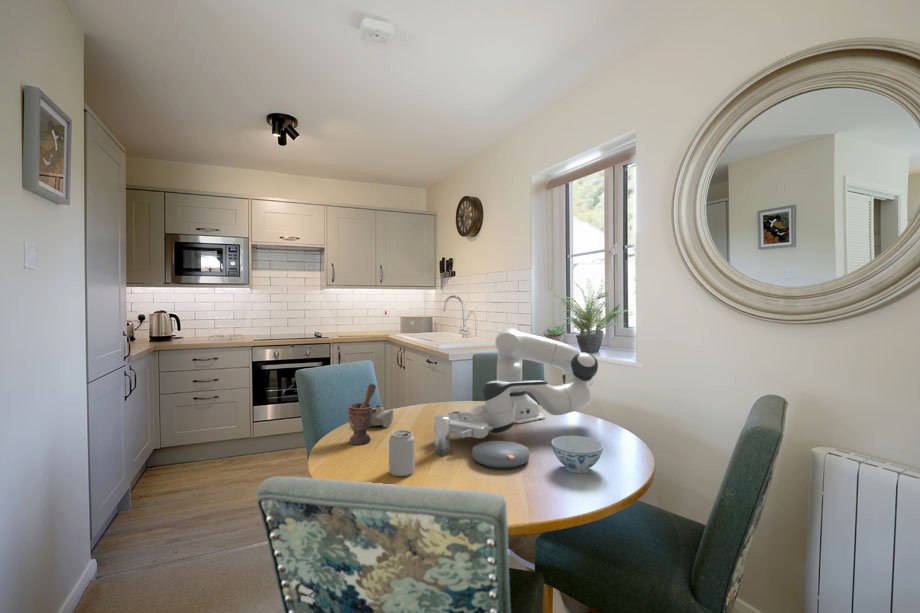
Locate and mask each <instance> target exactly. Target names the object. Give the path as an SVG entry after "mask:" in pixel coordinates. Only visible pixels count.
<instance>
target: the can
mask: <svg viewBox="0 0 920 613" xmlns="http://www.w3.org/2000/svg"><path fill="white" fill-rule="evenodd" d="M415 456H416V455H415V436H414V435H413V431H410V430H406V429H399V430H395V431H392V432H391V433H390V436H389V439H388V472H389V473H390V474H391V475H392V476H393V475H394V476H393V477H396V476H402V477H401V478H403V476H405V477H408V476H410V475H412V473H413V472H414V471H415V458H416V457H415Z"/></svg>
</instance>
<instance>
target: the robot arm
mask: <svg viewBox="0 0 920 613" xmlns="http://www.w3.org/2000/svg"><path fill="white" fill-rule="evenodd" d="M495 347H496V349H497V359H496V360H497V361H496V380H490V381H488V382H486V383H485V384H484V385H483V387H482V389H481V391H480V392H481V396H482V398H483V402H484V404H480V405H477V406H475V407H473V408H471V409H468V410H463V411H449V412H448V414H445V415H444V416H449V417H450V434H453V435H458V438H460V439H464V438H470V437H471V438H474V439H475V438H476V439H485V437H487V436H488V434H489V433H491V434H498V433H503V432H507V431H508V430H510V429H511V428H512V427H513V426H514V425H515V424H524V423H528V422H529V423H530V422H534V420H535V421H539V419H541V420H544V418H545V417H546V416H545V415H544V414H543V413H542V412H541V411H540V408H539V406H540V407H541V408H542V409H543V410H544V411H545V412H546V413H547V414H549V415H551V416H562V415H567V414H569V413H573V412H575V411H579V410H580V409H583V408H585V407H587V406H588V404H589V403H590V401H591V392H590V389H591V388H592V386H593V383H594V382H595V378H596V375H597V374H598V368H599V362H598V359H597V358H596V357H595V356H594V355H593V354H591V353H589V352H585V351H582V352H581V351H579V350H578V349H577V347H575V346H572V345H570V344H567V343H564V342H562V341H558V340H555V339H552V338H548V337H544V336H541V335H540V336H539V335H534V334H529V333H525V332H520V330H518V329H517V328H514V327H506V328H504V329H503V330H502V331H500V332H499V333H498V334H497V335H496V338H495ZM523 360H526V361H531V362H534V363H539V364H542V365H547V366H550V367H553V368H557V369H560V370H561V371H563V373H564V374H563V375H562V381H563V384H559V385H552V384H549V383H548V382H547V381H546V380H543V379H540V380H539V379H534V380H531V379H528V380H523ZM526 392H527V393H531V394H532V395H533V396H534V397H535V399H536V401H535V399H533V398H532V397H531V396H529V395H528V394H527V393H526ZM537 402H538V403H537ZM433 423H434V424H433V426H434V429H435V420H434V422H433Z"/></svg>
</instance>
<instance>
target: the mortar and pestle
mask: <svg viewBox="0 0 920 613" xmlns="http://www.w3.org/2000/svg"><path fill="white" fill-rule="evenodd" d="M376 390H377V385H376V384H373V383H370V384H368V387H367V389H366V392H365V396H364V398H363V402H359V403H353V404H352V403H351V404H349V405H348V406H347V407H348V408H347V409H348V411H347V414H348V416H347V417H348V423H349V426H350V427H349V428H350V429H351V430H352V431H353V434H352V435H351V436H350V438H349V443H350V444H351V445H365V444H368V443H370V442H371V441H372V438H371V436H370V435H369V434H368V433H367V431H368V429H369V428H370V427H372V426H371V422H372V415H373V414H372V412H373V408H374V406H373V404H372V403H371V400H372V398H373V396H374V394H375V392H376Z"/></svg>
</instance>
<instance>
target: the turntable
mask: <svg viewBox="0 0 920 613" xmlns="http://www.w3.org/2000/svg"><path fill="white" fill-rule="evenodd" d="M472 459H473V460H474V461H476V462H477V463H478V464H481V465H483V464H484V465H483V466H485V465H488V466H494V467H513V466H517V467H519V466H521V465H524V464H525V463H527V462H528V461H529V460H530V450H529V448H528V447H527V446H525V445H523V444H521V443H518V442H514V441H507V440H488V441H483V442H481V443H478V444H475V445H474V446H473V447H472ZM518 465H519V466H518ZM488 466H487V467H488ZM513 468H514V467H513Z"/></svg>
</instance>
